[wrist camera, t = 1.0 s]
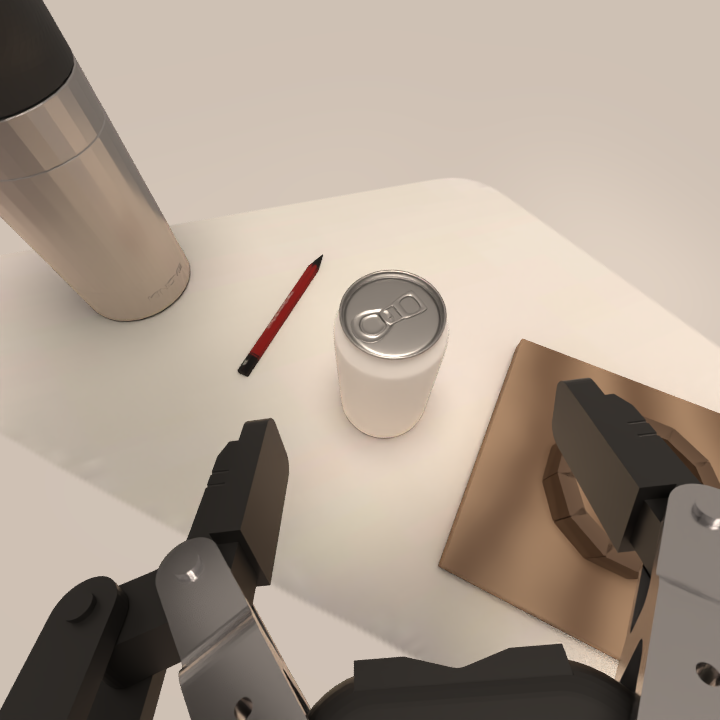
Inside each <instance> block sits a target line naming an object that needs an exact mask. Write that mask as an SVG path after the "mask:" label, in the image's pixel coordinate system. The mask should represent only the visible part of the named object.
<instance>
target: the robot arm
mask: <svg viewBox="0 0 720 720" xmlns="http://www.w3.org/2000/svg"><path fill="white" fill-rule="evenodd" d="M0 217H1V218H2V219H3V220H4V221H5V222H6V223H7V224H8V225H9V226H10V227H11V228H12V229H13V230H14V231H16V233H17V234H18V235H19V236H21V238H22V239H23V240H25V242H26V243H27V244H28V245H29V246H30V247H32V248H33V249H34V250H35V251H36V252H37V253H38V254H39V255H40V256H41V257H42V258H43V259H44V260H45V261H46V262H47V263H48V264H49V265H50V266H51V267H52V268H53V269H54V270H55V271H56V272H57V273H58V274H59V275H60V276H61V277H62V278H63V279H64V281H65V282H66V283H67V284H68V285H69V286H70V287H71V288H73V289H74V290H75V291H76V292H77V293H78V294H79V295H80V296H81V297H82V298H83V299H84V300H85V301H86V302H87V303H88V304H89V305H90V306H91V307H92V308H93V309H94V310H95V311H96V312H97V313H98V314H100V315H102V316H104V317H106V318H109V319H113V320H117V321H132V320H139V319H143V318H146V317H149V316H152V315H154V314H156V313H158V312H160V311H162V310H164V309H165V308H167V307H168V306H170V305H171V304H172V303H173V302H174V301H175V300H176V299H177V298H178V297H179V296H180V295H181V293H182V292H183V291H184V289H185V287H186V285H187V283H188V280H189V275H190V268H189V263H188V260H187V258H186V256H185V254H184V252H183V251H182V249H181V247H180V245H179V243H178V242H177V240H176V238H175V236H174V234H173V233H172V231H171V229H170V227H169V225H168V223H167V221H166V220H165V218H164V216H163V214H162V212H161V211H160V209H159V207H158V205H157V203H156V202H155V200H154V198H153V196H152V194H151V193H150V191H149V189H148V187H147V185H146V184H145V182H144V180H143V178H142V177H141V175H140V173H139V171H138V169H137V168H136V166H135V164H134V163H133V160H132V158H131V157H130V155H129V153H128V151H127V149H126V148H125V146H124V144H123V142H122V141H121V139H120V137H119V135H118V133H117V131H116V130H115V128H114V126H113V124H112V123H111V121H110V119H109V117H108V115H107V114H106V112H105V110H104V108H103V107H102V105H101V103H100V101H99V100H98V98H97V96H96V94H95V92H94V91H93V89H92V87H91V85H90V84H89V82H88V80H87V78H86V77H85V75H84V73H83V71H82V69H81V67H80V65H79V64H78V62H77V60H76V58H75V57H74V55H73V53H72V51H71V49H70V47H69V45H68V44H67V42H66V40H65V38H64V37H63V35H62V33H61V31H60V30H59V28H58V26H57V25H56V23H55V21H54V19H53V17H52V16H51V14H50V12H49V11H48V9H47V7H46V6H45V4H44V2H43V0H0ZM552 431H553V436H554V439H555V442H556V444H557V446H558V448H559V450H560V451H561V453H562V455H563V457H564V459H565V460H566V462H567V464H568V466H569V467H570V469H571V471H572V473H573V475H574V476H575V478H576V480H577V482H578V483H579V485H580V487H581V489H582V491H583V492H584V494H585V496H586V498H587V499H588V501H589V503H590V505H591V507H592V508H593V510H594V512H595V514H596V515H597V517H598V519H599V521H600V523H601V524H602V526H603V528H604V530H605V531H606V533H607V535H608V537H609V538H610V540H611V542H612V544H613V546H614V547H615V549H616V551H617V553H620V552H630V551H636V553H637V554H638V556H639V557H640V559H641V561H642V564H641V567H640V570H639V575H638V580H637V585H636V590H635V595H634V600H633V605H632V610H631V615H630V620H629V625H628V630H627V635H626V639H625V643H624V647H623V651H622V654H621V657H620V660H619V664H618V667H617V671H616V676H615V679H613V678H611V677H610V676H608V675H606V674H605V673H603V672H601V671H598V670H596V669H594V668H592V667H590V666H587V665H584V664H581V663H578V662H575V661H571V660H568V658H567V656H566V653H565V650H564V648H563V645H562V644H552V645H540V646H528V647H515V648H508V649H506V650H503V651H501V652H499V653H496V654H494V655H491V656H489V657H487V658H484V659H482V660H479V661H477V662H475V663H472V664H470V665H467V666H465V667H462V668H452V667H448V666H443V665H439V664H434V663H430V662H425V661H421V660H416V659H412V658H407V657H394V658H381V659H369V660H357V661H354V676H353V677H351V678H349V679H346V680H345V681H343V682H341V683H340V684H338V685H336V686H335V687H334V688H332V689H331V690H330V691H329V692H327V693H326V694H325V695H324V696H323V697H322V698H321V699H320V700H319V701H318V702H317V703H316V704H315V705H314V706H313V707H312V709H311V708H310V707H309V705H308V703H307V701H306V699H305V697H304V696H303V694H302V692H301V690H300V688H299V687H298V685H297V683H296V682H295V680H294V678H293V676H292V675H291V673H290V671H289V669H288V668H287V666H286V664H285V662H284V660H283V658H282V656H281V655H280V653H279V651H278V649H277V647H276V645H275V643H274V642H273V640H272V638H271V636H270V634H269V632H268V630H267V629H266V627H265V625H264V623H263V621H262V620H261V618H260V616H259V614H258V612H257V610H256V608H255V606H254V605H253V599H254V593H255V589H256V587H257V586H267V585H270V584H271V578H272V572H273V566H274V560H275V554H276V548H277V542H278V536H279V530H280V524H281V518H282V512H283V506H284V500H285V494H286V488H287V482H288V476H289V463H288V457H287V453H286V451H285V448H284V445H283V443H282V440H281V437H280V434H279V432H278V429H277V426H276V424H275V422H274V420H273V419H272V418H269V419H261V420H254V421H247V422H245V424H244V426H243V429H242V432H241V435H240V438H239V440H238V441H231V442H229V443H228V444H227V445H226V447H225V448H224V449H223V450H222V451H221V453H220V454H219V455H218V456H217V459H216V462H215V465H214V467H213V470H212V475H210V478H209V481H208V484H207V488H206V489H205V492H204V495H203V497H202V500H201V503H200V505H199V508H198V511H197V514H196V516H195V519H194V522H193V524H192V527H191V530H190V533H189V535H188V538H187V540H186V541H185V542H183V543H181V544H179V545H178V546H176V547H175V548H174V549H173V550H172V551H171V552H170V553H169V554H168V555H167V556H166V557H165V558H164V560H163V561H162V562H161V564H160V566H159V568H158V569H157V570H155V571H153V572H150V573H148V574H146V575H143V576H141V577H138V578H136V579H134V580H131V581H129V582H127V583H124V584H122V585H119V586H118V585H117V584H116V583H115V582H114V581H113V580H112V579H111V578H109V577H105V576H98V577H94V578H91V579H88V580H86V581H84V582H82V583H80V584H78V585H77V586H75V587H74V588H73V589H71V590H70V591H69V592H68V593H67V594H66V595H65V596H64V597H63V598H62V599H61V600H60V601H59V602H58V604H57V605H56V606H55V608H54V609H53V611H52V612H51V614H50V616H49V618H48V620H47V622H46V624H45V625H44V628H43V630H42V631H41V633H40V635H39V637H38V639H37V641H36V643H35V645H34V647H33V649H32V650H31V652H30V654H29V656H28V658H27V660H26V662H25V664H24V666H23V668H22V669H21V671H20V673H19V675H18V677H17V679H16V681H15V683H14V685H13V687H12V689H11V690H10V692H9V694H8V696H7V698H6V700H5V702H4V704H3V706H2V708H1V710H0V720H153V717H154V713H155V709H156V706H157V702H158V699H159V695H160V691H161V687H162V684H163V680H164V677H165V673H166V669H167V668H169V667H171V666H173V665H175V664H177V663H180V662H182V669H181V670H180V671H179V682H180V686H181V690H182V693H183V696H184V699H185V702H186V705H187V708H188V712H189V714H190V718H191V720H720V489H717V488H714V487H711V486H707V485H702V484H701V483H700V482H699V480H698V479H697V478H696V477H695V476H694V475H693V473H692V472H691V471H690V470H689V469H688V468H687V467H686V465H685V464H684V463H683V462H682V461H681V460H680V459H679V457H678V456H677V455H676V454H675V453H674V452H673V451H672V449H671V448H670V447H669V446H668V445H667V444H666V442H665V441H664V440H663V439H662V438H661V437H660V436H659V435H657V432H656V431H655V430H654V429H653V428H652V426H651V425H650V424H649V423H646V419H645V418H644V417H643V416H642V415H641V414H640V413H639V411H638V410H637V409H636V408H635V407H634V406H633V405H632V404H630V403H629V402H627V401H625V400H624V399H622V398H620V397H619V396H617V395H615V394H606V395H605V394H604V393H603V392H602V390H601V389H600V388H599V387H598V386H597V384H596V383H595V382H594V381H593V380H592V379H591V378H581V379H573V380H565V381H560V382H559V383H558V384H557V388H556V396H555V403H554V410H553V418H552Z"/></svg>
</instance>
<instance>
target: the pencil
mask: <svg viewBox="0 0 720 720" xmlns="http://www.w3.org/2000/svg"><path fill="white" fill-rule="evenodd" d="M322 256H323V255H321V256H320V257H319V258H318V259H316V260H315V261H314V262H313V263H311V264H310V265H309V266H308V267H307V269H306V270H305V272H304V273H303V275H302V276H301V278H300V279H299V281H298V282H297V284H296V285H295V287H294V288H293V290H292V291H291V292H290V294H289V295H288V297H287V298H286V300H285V301H284V303H283V304H282V306H281V307H280V309H279V310H278V312H277V313H276V315H275V316H274V317H273V319H272V320H271V322H270V323H269V325H268V326H267V328H266V329H265V331H264V332H263V334H262V335H261V337H260V338H259V339H258V341H257V342H256V344H255V345H254V347H253V348H252V350H251V351H250V353H249V354H248V356H247V357H246V359H245V360H244V362H243V363H242V364H241V366H240V367H239V369H238V370H237V371H238V372H239V373H240V374H243V375H245V376H247V377H248V376H249V375H250V373H251V372H252V370H253V369H254V367H255V366H256V364H257V363H258V361H259V359H260V358H261V356H262V355H263V353H264V352H265V350H266V349H267V347H268V346H269V344H270V343H271V341H272V340H273V338H274V337H275V335H276V334H277V332H278V331H279V329H280V328H281V326H282V325H283V323H284V322H285V320H286V319H287V317H288V316H289V314H290V313H291V311H292V310H293V308H294V307H295V305H296V304H297V302H298V301H299V299H300V298H301V296H302V295H303V293H304V292H305V290H306V289H307V287H308V286H309V284H310V283H311V281H312V280H313V278H314V276H315V275H316V273H317V272H318V270H319V266H320V263H321V260H322Z"/></svg>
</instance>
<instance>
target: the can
mask: <svg viewBox="0 0 720 720" xmlns="http://www.w3.org/2000/svg"><path fill="white" fill-rule="evenodd" d="M333 332H334V345H335V354H336V362H337V370H338V378H339V386H340V393H341V400H342V406H343V410H344V412H345V414H346V416H347V418H348V419H349V420H350V422H351V423H352V424H353V425H354V426H355V427H356V428H357V429H359V430H360V431H362V432H363V433H365V434H367V435H370V436H374V437H379V438H390V437H395V436H399V435H401V434H404V433H406V432H407V431H409V430H410V429H411V428H413V427H414V426H415V425H416V423H417V422H418V421H419V419H420V418H421V416H422V414H423V412H424V409H425V407H426V404H427V401H428V398H429V396H430V393H431V390H432V387H433V385H434V382H435V379H436V376H437V374H438V371H439V368H440V365H441V362H442V359H443V356H444V353H445V350H446V347H447V343H448V336H449V328H448V322H447V313H446V307H445V304H444V301H443V299H442V297H441V295H440V294H439V292H438V291H437V290H436V289H435V288H434V287H433V286H432V285H431V284H430V283H429V282H428V281H426V280H425V279H423V278H421V277H419V276H417V275H415V274H412V273H409V272H405V271H399V270H383V271H377V272H374V273H370V274H368V275H366V276H364V277H362V278H360V279H358V280H357V281H356V282H354V283H353V284H352V285H351V286H350V287H349V288H348V290H347V291H346V292H345V294H344V296H343V298H342V300H341V303H340V308H339V310H338V312H337V314H336V317H335V321H334V331H333Z"/></svg>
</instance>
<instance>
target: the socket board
mask: <svg viewBox="0 0 720 720" xmlns="http://www.w3.org/2000/svg"><path fill="white" fill-rule="evenodd" d="M581 378H591V379H592V380H593V381H594V382H595V383H596V384H597V386H598V387H599V388H600V389H601V390H602V392H603V393H604V394H605V395H606V394H615V395H617V396H619V397H620V398H622V399H624V400H625V401H627V402H629V403H630V404H632V405H633V406H634V407H635V408H636V409H637V410H638V411H639V413H640V414H641V415H642V416H643V417H644V418H645V419H646V423H649V424H650V425H651V426H652V428H653V429H654V430H655V431H656V432H657V435H659V436H660V437H661V438H662V439H663V440H664V441H665V442H666V444H667V445H668V446H669V447H670V448H671V449H672V451H673V452H674V453H675V454H676V455H677V456H678V457H679V459H680V460H681V461H682V462H683V463H684V464H685V465H686V467H687V468H688V469H689V470H690V471H691V472H692V473H693V475H694V476H695V477H696V478H697V479H698V480H699V482H700V483H701V484H702V485H707V486H711V487H714V488H717V489H720V413H717V412H714V411H712V410H709V409H706V408H704V407H701V406H699V405H696V404H693V403H691V402H688V401H685V400H683V399H680V398H677V397H675V396H672V395H670V394H667V393H664V392H662V391H659V390H656V389H654V388H651V387H649V386H646V385H643V384H641V383H638V382H635V381H633V380H630V379H627V378H625V377H622V376H620V375H617V374H614V373H612V372H609V371H606V370H604V369H601V368H599V367H596V366H593V365H591V364H588V363H585V362H583V361H580V360H577V359H575V358H572V357H570V356H567V355H564V354H562V353H559V352H556V351H554V350H551V349H549V348H546V347H543V346H541V345H538V344H535V343H533V342H530V341H527V340H525V339H522V340H521V341H520V343H519V344H518V346H517V347H516V350H515V352H514V355H513V358H512V361H511V364H510V366H509V369H508V372H507V375H506V378H505V380H504V383H503V386H502V389H501V392H500V394H499V397H498V400H497V403H496V406H495V408H494V411H493V414H492V417H491V420H490V422H489V425H488V428H487V431H486V434H485V436H484V439H483V442H482V445H481V448H480V450H479V453H478V456H477V459H476V462H475V464H474V467H473V470H472V473H471V476H470V478H469V481H468V484H467V487H466V490H465V492H464V495H463V498H462V501H461V504H460V506H459V509H458V512H457V515H456V518H455V520H454V523H453V526H452V529H451V532H450V534H449V537H448V540H447V543H446V546H445V548H444V551H443V554H442V557H441V560H440V562H439V565H438V566H439V567H441V568H443V569H445V570H447V571H448V572H450V573H452V574H454V575H456V576H458V577H460V578H462V579H464V580H466V581H468V582H470V583H471V584H473V585H475V586H477V587H479V588H481V589H483V590H485V591H487V592H489V593H491V594H492V595H494V596H496V597H498V598H500V599H502V600H504V601H506V602H508V603H510V604H512V605H514V606H515V607H517V608H519V609H521V610H523V611H525V612H527V613H529V614H531V615H533V616H535V617H536V618H538V619H540V620H542V621H544V622H546V623H548V624H550V625H552V626H554V627H556V628H558V629H559V630H561V631H563V632H565V633H567V634H569V635H571V636H573V637H575V638H577V639H579V640H580V641H582V642H584V643H586V644H588V645H590V646H592V647H594V648H596V649H598V650H600V651H601V652H603V653H605V654H607V655H609V656H611V657H613V658H615V659H617V660H620V657H621V654H622V651H623V647H624V643H625V639H626V635H627V630H628V625H629V620H630V615H631V610H632V605H633V600H634V595H635V590H636V585H637V580H638V575H639V570H640V567H641V564H642V561H641V559H640V557H639V556H638V554H637V553H636V551H630V552H620V553H617V551H616V549H615V547H614V546H613V544H612V542H611V540H610V538H609V537H608V535H607V533H606V531H605V530H604V528H603V526H602V524H601V523H600V521H599V519H598V517H597V515H596V514H595V512H594V510H593V508H592V507H591V505H590V503H589V501H588V499H587V498H586V496H585V494H584V492H583V491H582V489H581V487H580V485H579V483H578V482H577V480H576V478H575V476H574V475H573V473H572V471H571V469H570V467H569V466H568V464H567V462H566V460H565V459H564V457H563V455H562V453H561V451H560V450H559V448H558V446H557V444H556V442H555V439H554V436H553V431H552V418H553V410H554V403H555V396H556V388H557V384H558V383H559V382H560V381H565V380H573V379H581Z"/></svg>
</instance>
